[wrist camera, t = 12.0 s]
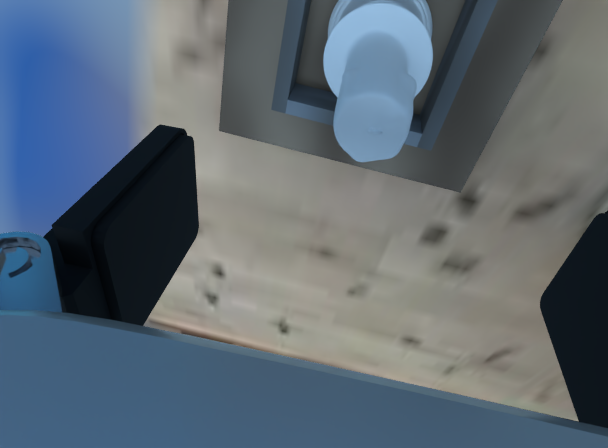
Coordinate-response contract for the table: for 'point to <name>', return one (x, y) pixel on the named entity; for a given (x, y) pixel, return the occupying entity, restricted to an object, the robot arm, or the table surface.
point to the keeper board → (427, 103)
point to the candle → (376, 72)
